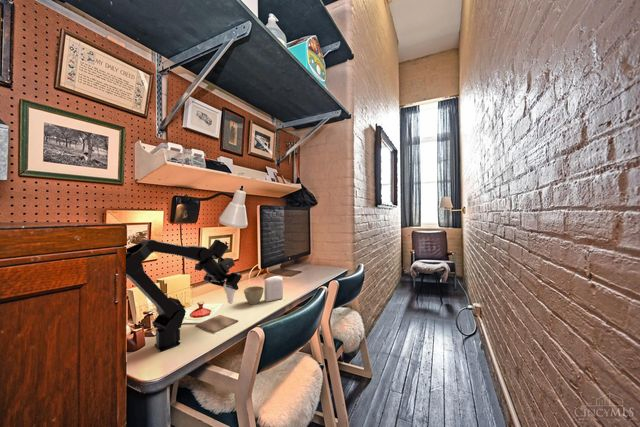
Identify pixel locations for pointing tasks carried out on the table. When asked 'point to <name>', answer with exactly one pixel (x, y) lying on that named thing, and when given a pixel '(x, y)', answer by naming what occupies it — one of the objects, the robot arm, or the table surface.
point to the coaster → (216, 323)
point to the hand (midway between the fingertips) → (232, 288)
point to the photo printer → (273, 288)
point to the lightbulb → (229, 293)
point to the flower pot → (253, 294)
